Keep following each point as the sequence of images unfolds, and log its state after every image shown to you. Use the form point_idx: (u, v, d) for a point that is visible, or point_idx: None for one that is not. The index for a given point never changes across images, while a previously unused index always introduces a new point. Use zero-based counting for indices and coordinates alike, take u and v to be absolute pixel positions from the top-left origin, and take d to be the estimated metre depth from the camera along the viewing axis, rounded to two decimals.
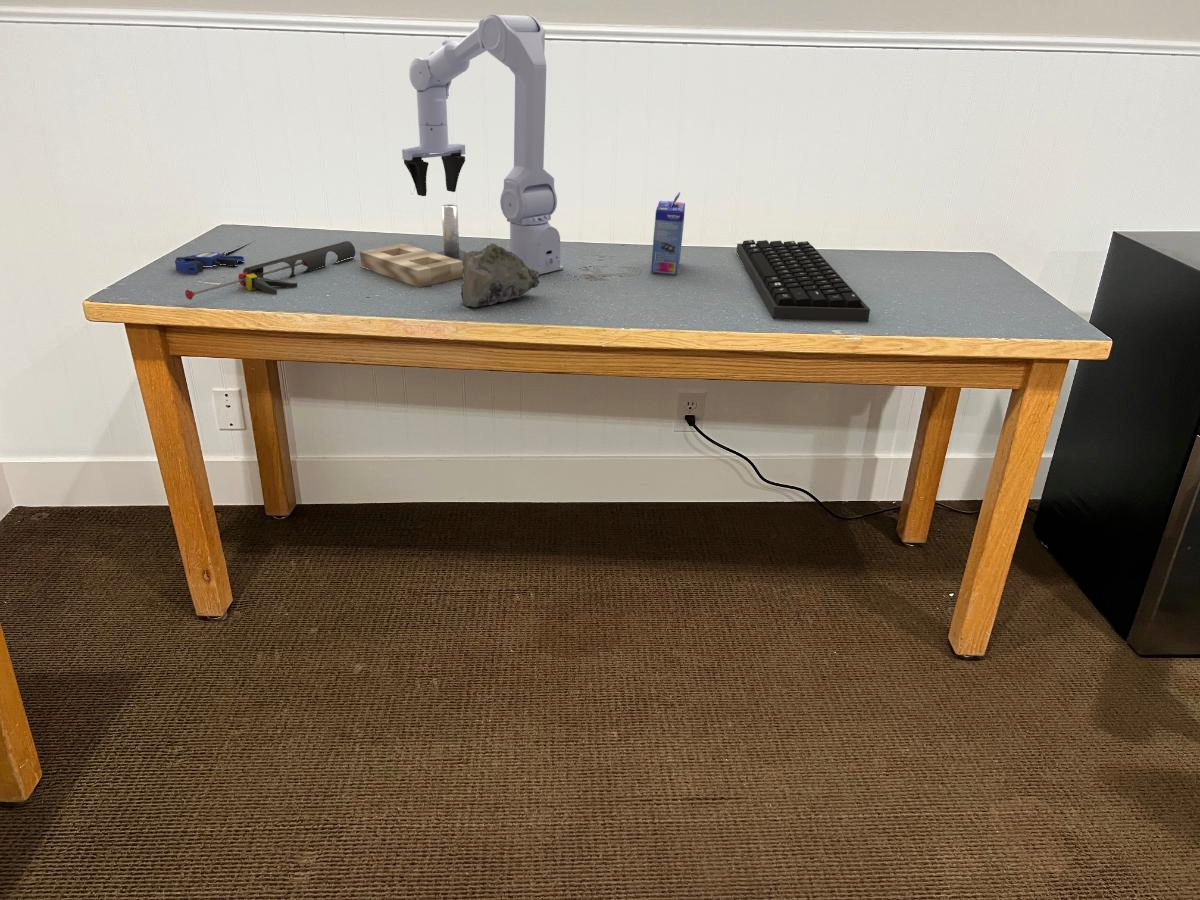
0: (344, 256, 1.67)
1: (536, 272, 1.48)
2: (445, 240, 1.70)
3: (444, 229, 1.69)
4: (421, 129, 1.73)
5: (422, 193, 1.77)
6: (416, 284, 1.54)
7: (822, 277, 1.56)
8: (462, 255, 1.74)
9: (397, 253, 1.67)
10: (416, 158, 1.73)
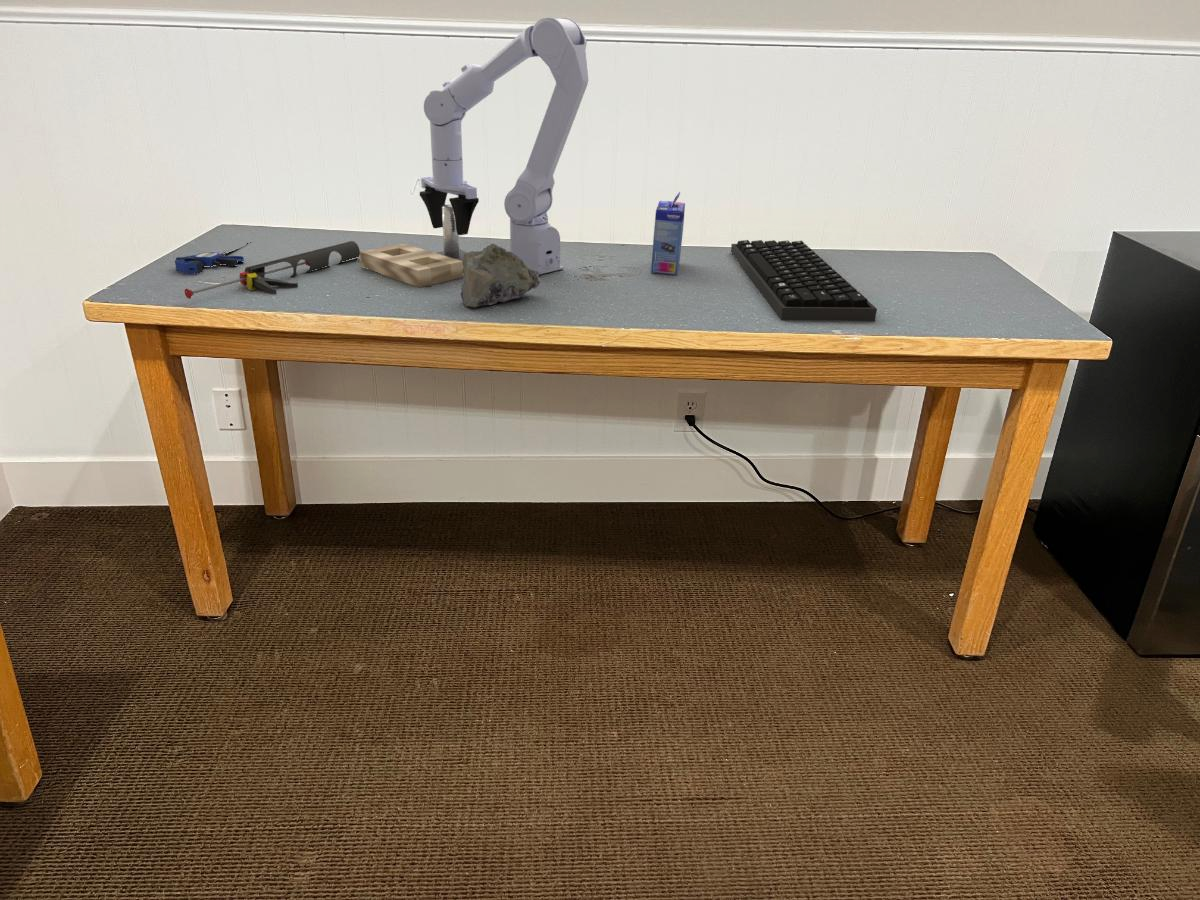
0: (348, 256, 1.67)
1: (536, 272, 1.48)
2: (445, 240, 1.70)
3: (444, 229, 1.69)
4: None
5: None
6: (416, 284, 1.54)
7: (824, 277, 1.56)
8: (462, 255, 1.74)
9: (397, 253, 1.67)
10: (428, 188, 1.69)
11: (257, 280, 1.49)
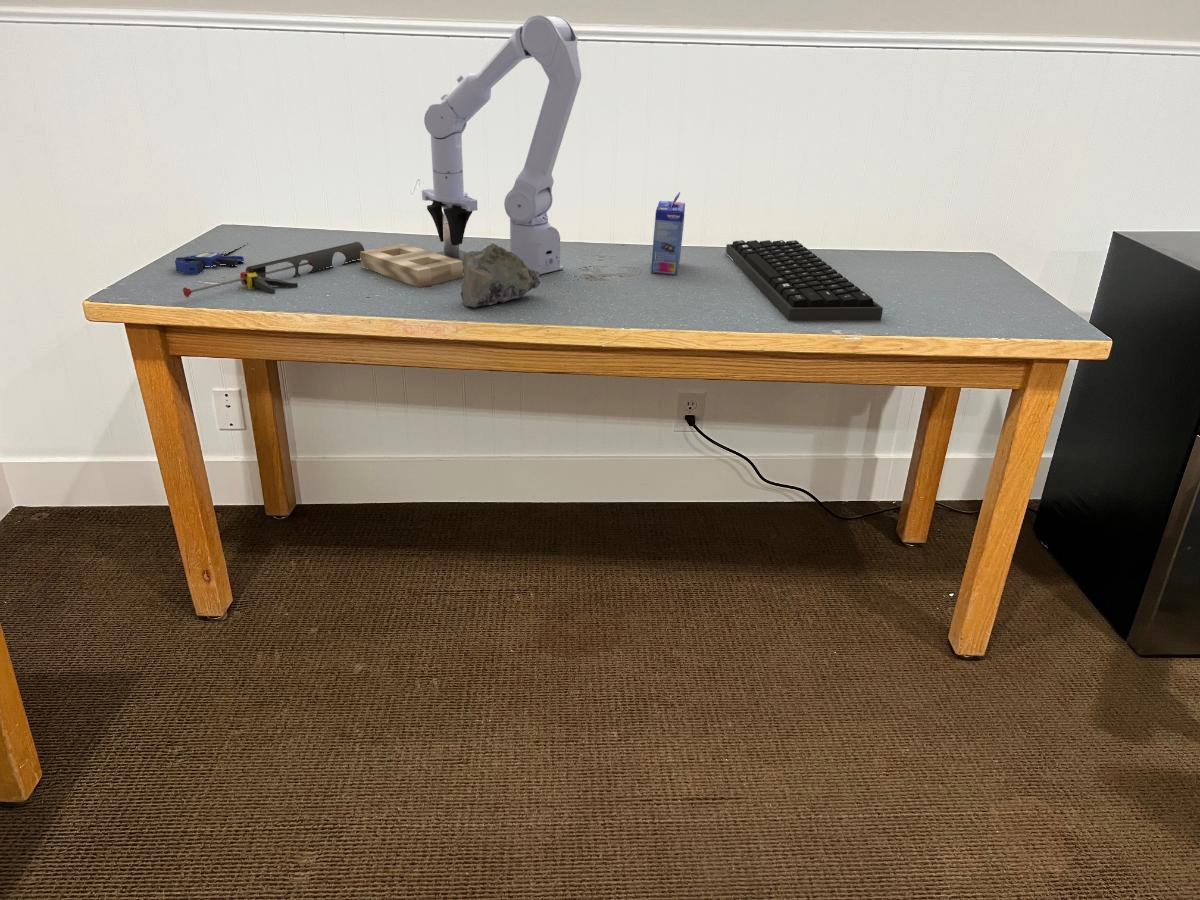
0: (353, 257, 1.67)
1: (536, 272, 1.48)
2: (445, 240, 1.70)
3: (444, 229, 1.69)
4: None
5: None
6: (416, 284, 1.54)
7: (826, 276, 1.56)
8: (462, 255, 1.74)
9: (397, 253, 1.67)
10: (435, 202, 1.69)
11: (257, 280, 1.50)
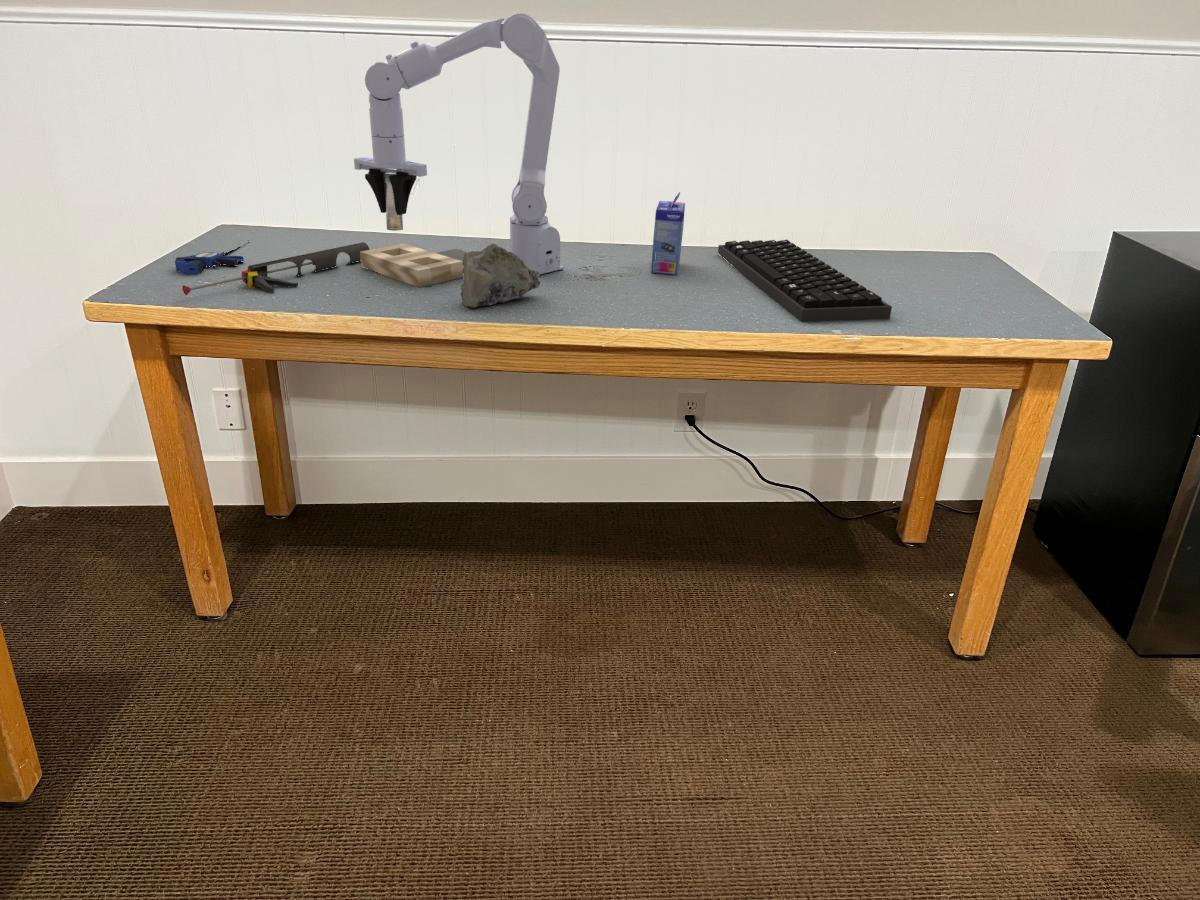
0: (358, 257, 1.67)
1: (537, 273, 1.48)
2: (389, 210, 1.59)
3: (388, 198, 1.59)
4: None
5: None
6: (416, 284, 1.54)
7: (829, 276, 1.56)
8: (462, 255, 1.74)
9: (397, 253, 1.67)
10: (373, 170, 1.58)
11: (257, 279, 1.50)
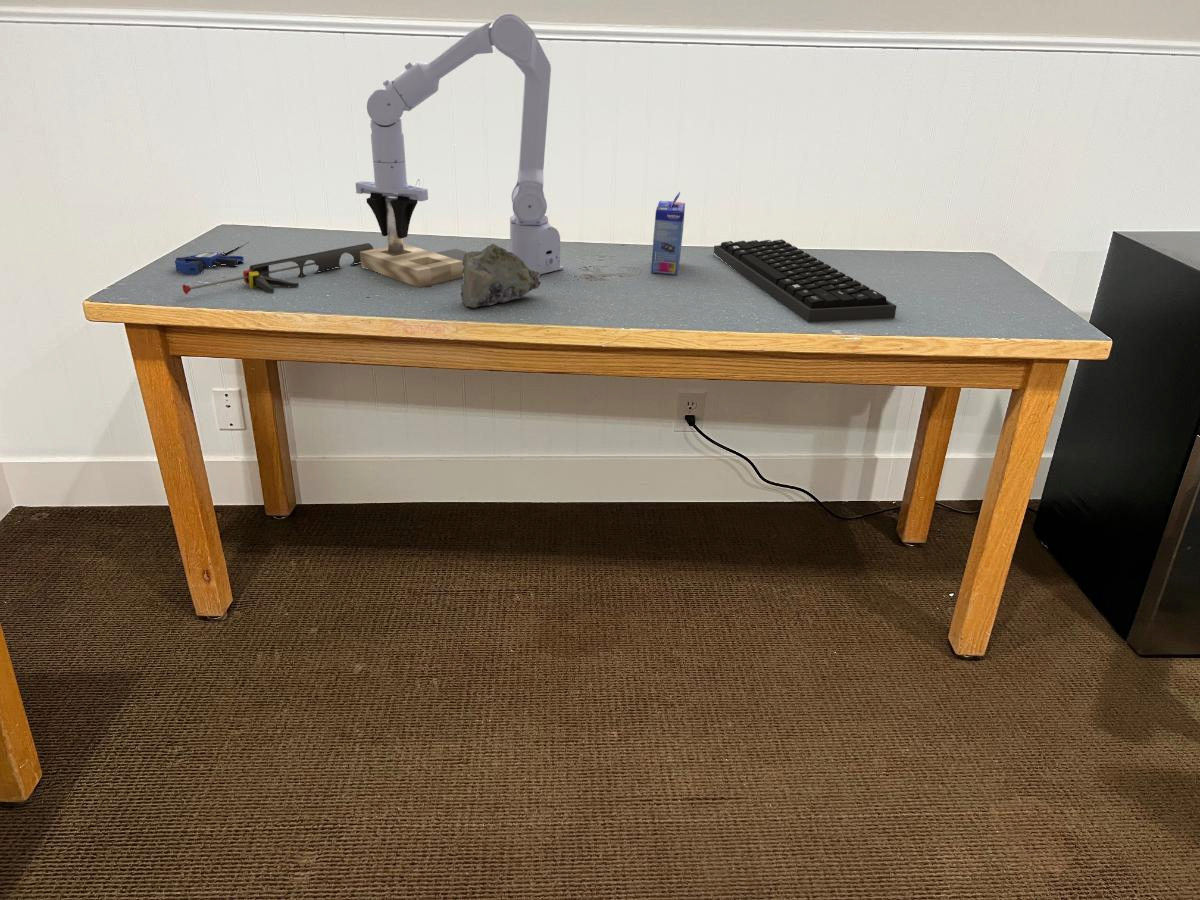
0: None
1: (537, 273, 1.48)
2: (390, 234, 1.61)
3: (389, 222, 1.60)
4: None
5: None
6: (416, 284, 1.54)
7: (830, 276, 1.57)
8: (462, 255, 1.74)
9: None
10: (374, 194, 1.60)
11: (258, 278, 1.50)
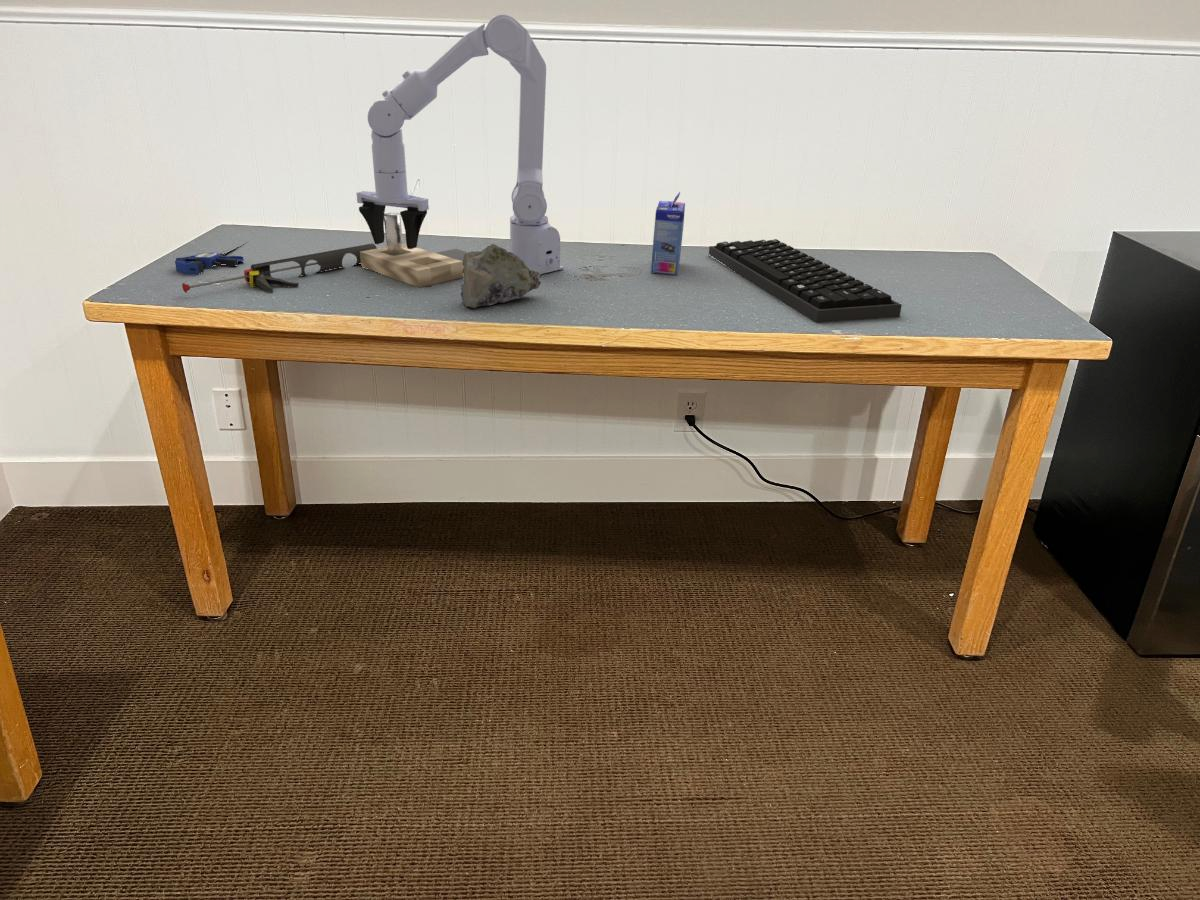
0: None
1: (537, 273, 1.48)
2: (391, 250, 1.62)
3: (389, 239, 1.61)
4: None
5: None
6: (416, 284, 1.54)
7: (831, 275, 1.57)
8: (462, 255, 1.74)
9: None
10: (367, 203, 1.61)
11: (258, 278, 1.51)
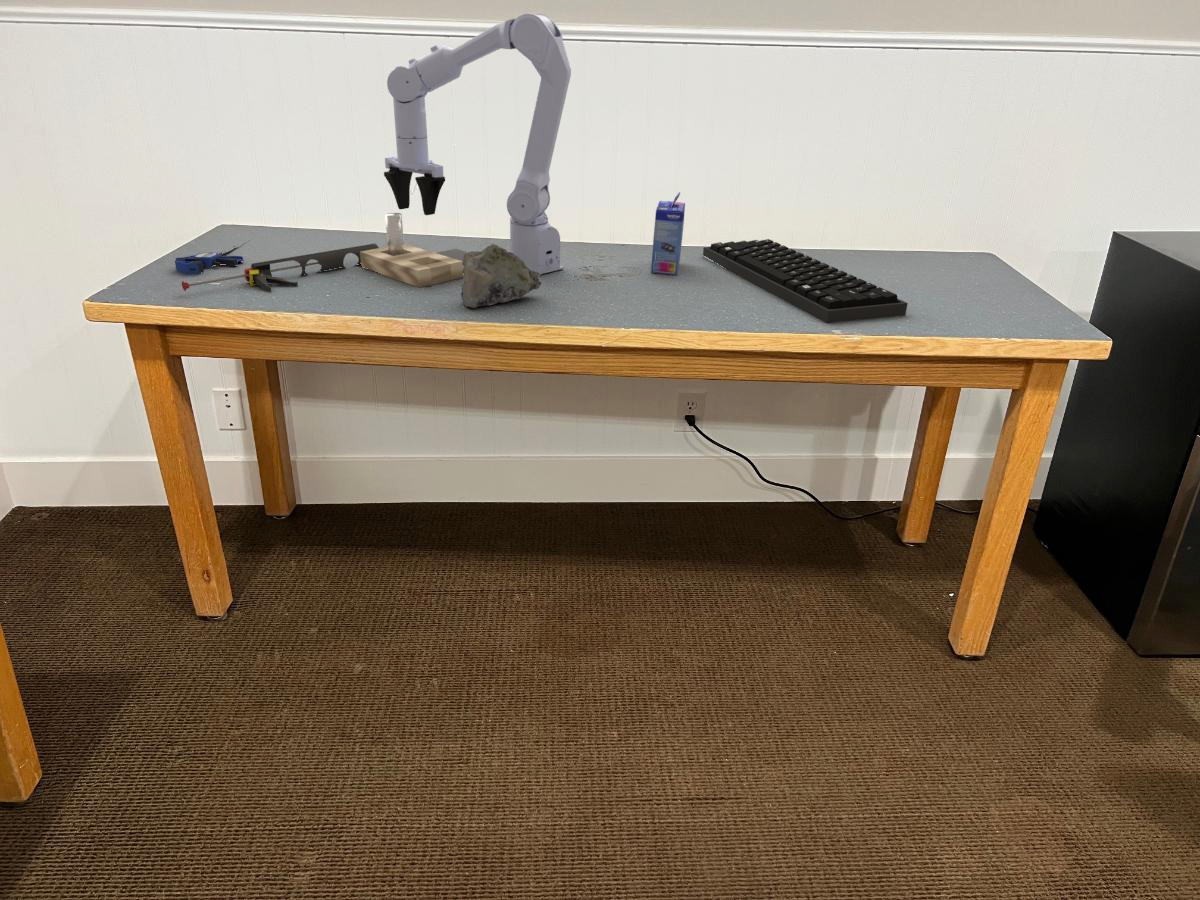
0: None
1: (537, 273, 1.47)
2: (391, 250, 1.63)
3: (390, 239, 1.62)
4: None
5: None
6: (416, 284, 1.54)
7: (833, 275, 1.57)
8: (462, 255, 1.74)
9: None
10: (392, 168, 1.66)
11: (258, 277, 1.51)
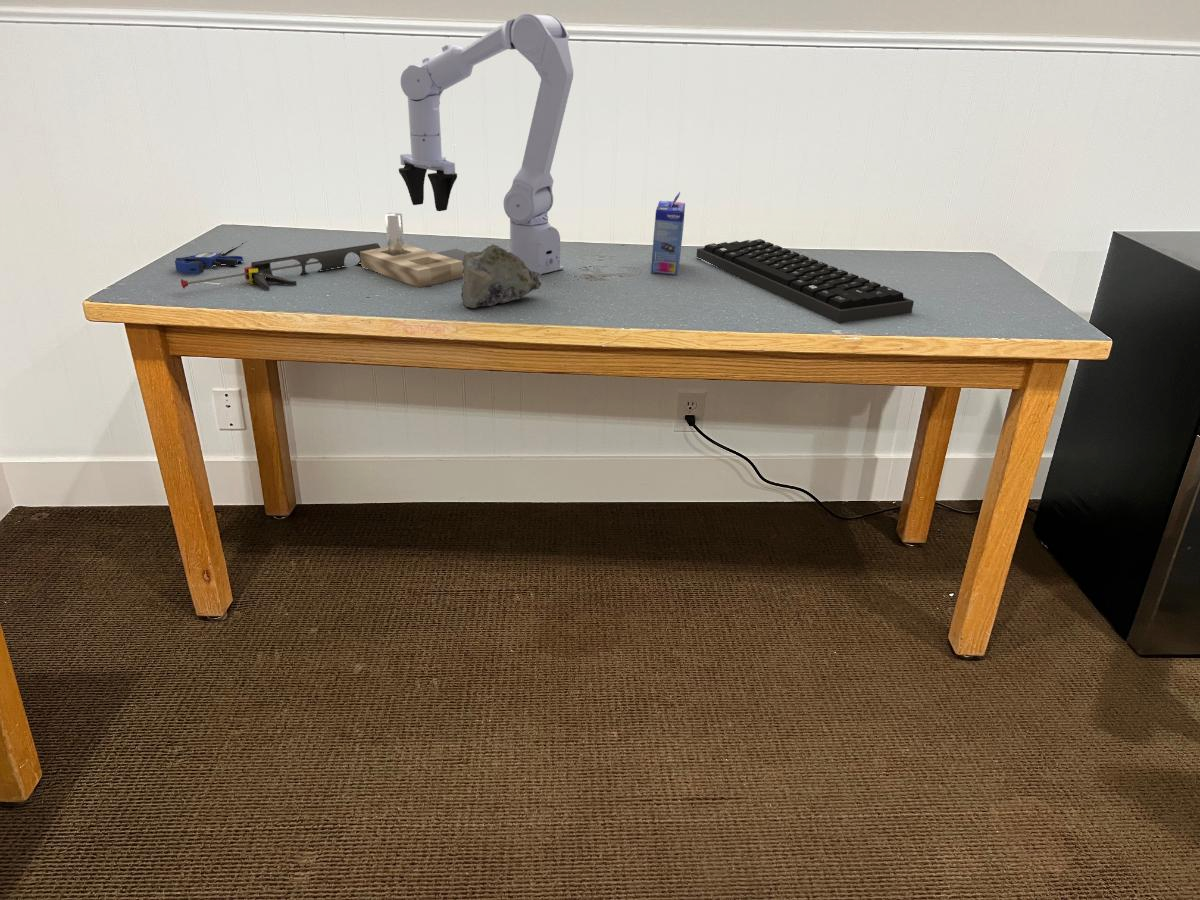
0: None
1: (537, 274, 1.47)
2: (391, 250, 1.63)
3: (390, 239, 1.62)
4: None
5: None
6: (416, 284, 1.54)
7: (835, 274, 1.58)
8: (462, 255, 1.74)
9: None
10: (407, 165, 1.70)
11: (257, 275, 1.52)
